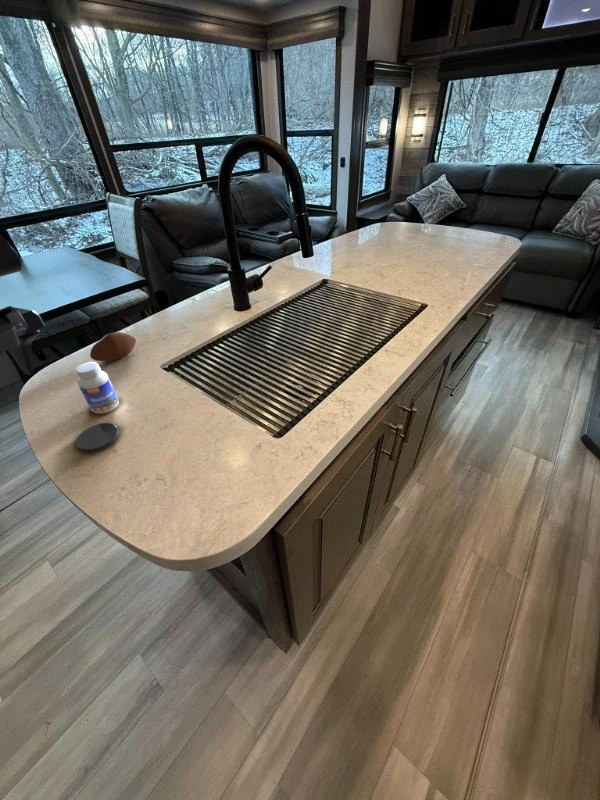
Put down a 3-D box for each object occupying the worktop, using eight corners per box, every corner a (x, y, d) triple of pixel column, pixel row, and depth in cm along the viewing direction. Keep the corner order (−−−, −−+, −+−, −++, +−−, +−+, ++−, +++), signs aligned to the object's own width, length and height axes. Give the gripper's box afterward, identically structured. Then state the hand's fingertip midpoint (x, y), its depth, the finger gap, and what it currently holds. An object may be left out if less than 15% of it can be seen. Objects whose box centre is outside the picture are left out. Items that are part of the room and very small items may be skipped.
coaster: (98, 456, 59) (97, 453, 58) (69, 446, 61) (67, 443, 60) (127, 430, 64) (125, 427, 64) (98, 422, 66) (97, 419, 65)
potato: (89, 362, 84) (78, 339, 80) (131, 344, 91) (123, 323, 87) (100, 370, 81) (90, 347, 77) (143, 351, 88) (135, 329, 84)
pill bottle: (97, 417, 67) (76, 378, 61) (87, 406, 70) (66, 367, 64) (123, 405, 70) (106, 366, 64) (113, 394, 73) (96, 356, 67)
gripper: (-118, 335, 34) (-24, 441, 44) (44, 277, 48) (89, 368, 58) (-178, 321, 37) (-77, 423, 47) (-9, 270, 51) (42, 357, 61)
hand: (3, 390), depth 53 cm, fingers open, 9 cm apart
